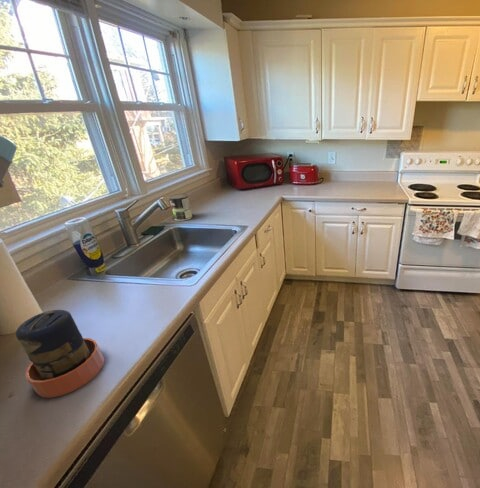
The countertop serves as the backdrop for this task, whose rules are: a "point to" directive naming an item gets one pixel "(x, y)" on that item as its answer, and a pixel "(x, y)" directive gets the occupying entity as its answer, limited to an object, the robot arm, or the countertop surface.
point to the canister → (53, 343)
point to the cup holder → (68, 374)
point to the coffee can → (180, 207)
